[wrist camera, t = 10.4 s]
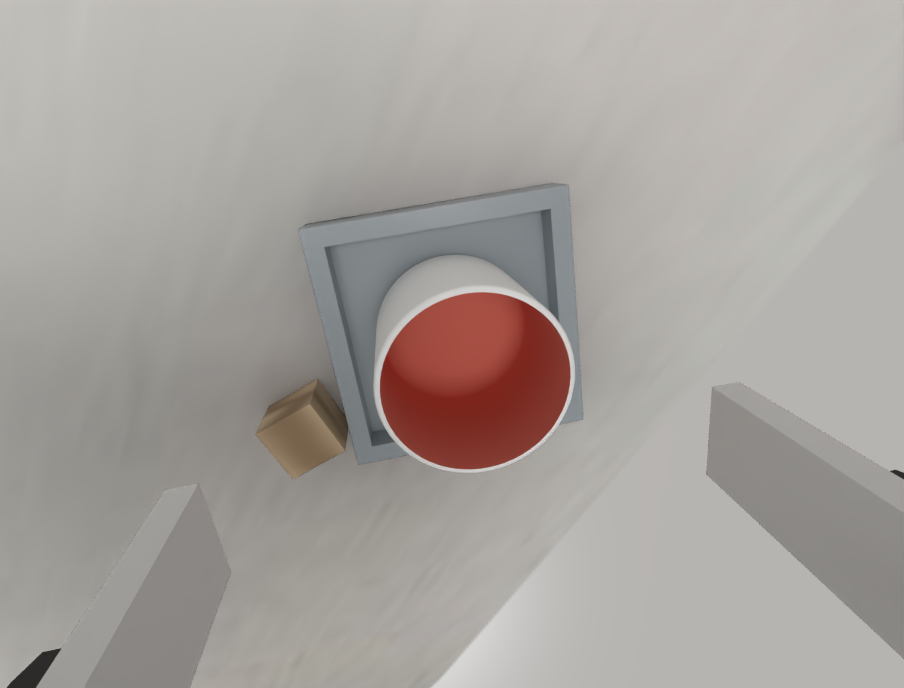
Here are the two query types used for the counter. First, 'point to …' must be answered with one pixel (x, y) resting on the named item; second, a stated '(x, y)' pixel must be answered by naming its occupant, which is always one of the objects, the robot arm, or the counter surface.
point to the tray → (421, 238)
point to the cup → (469, 366)
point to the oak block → (304, 429)
